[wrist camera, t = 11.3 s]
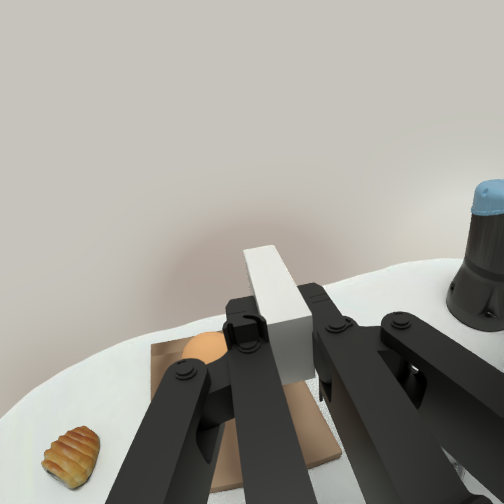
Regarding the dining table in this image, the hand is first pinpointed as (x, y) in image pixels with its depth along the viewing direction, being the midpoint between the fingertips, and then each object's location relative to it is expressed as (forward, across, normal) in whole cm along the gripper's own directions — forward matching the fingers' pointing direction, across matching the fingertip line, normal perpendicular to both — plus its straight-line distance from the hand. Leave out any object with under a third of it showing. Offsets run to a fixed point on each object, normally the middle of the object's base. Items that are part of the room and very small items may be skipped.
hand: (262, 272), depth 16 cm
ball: (+18, -7, -20) cm, 27 cm away
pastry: (+5, -26, -25) cm, 36 cm away
